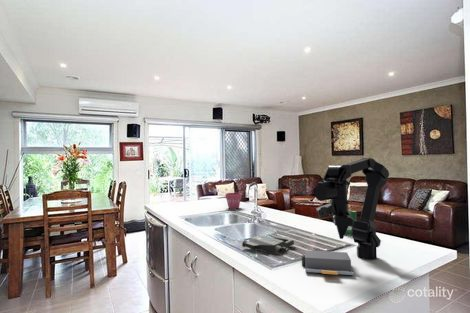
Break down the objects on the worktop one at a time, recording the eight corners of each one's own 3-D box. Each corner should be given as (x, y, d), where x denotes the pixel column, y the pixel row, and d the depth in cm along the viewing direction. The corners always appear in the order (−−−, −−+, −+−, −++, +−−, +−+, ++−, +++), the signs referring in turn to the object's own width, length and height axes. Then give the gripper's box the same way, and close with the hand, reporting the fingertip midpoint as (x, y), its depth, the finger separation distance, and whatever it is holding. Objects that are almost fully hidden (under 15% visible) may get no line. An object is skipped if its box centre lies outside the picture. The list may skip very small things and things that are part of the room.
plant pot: (245, 208, 230) (244, 193, 231) (231, 210, 223) (230, 195, 223) (236, 206, 243) (235, 192, 243) (222, 208, 235) (222, 193, 235)
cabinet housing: (347, 265, 104) (347, 252, 104) (351, 274, 96) (350, 260, 96) (301, 262, 108) (301, 250, 108) (302, 270, 100) (301, 257, 100)
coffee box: (357, 234, 144) (356, 210, 144) (357, 236, 141) (356, 211, 141) (341, 233, 148) (340, 209, 148) (340, 234, 145) (340, 210, 145)
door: (351, 271, 96) (355, 272, 89) (351, 274, 95) (355, 276, 88) (305, 268, 99) (305, 269, 92) (305, 270, 99) (305, 272, 92)
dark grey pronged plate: (282, 258, 114) (282, 245, 114) (241, 250, 125) (240, 239, 125) (295, 247, 128) (294, 236, 128) (256, 241, 138) (256, 231, 139)
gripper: (315, 194, 112) (317, 231, 112) (319, 202, 94) (321, 246, 94) (343, 193, 110) (345, 231, 110) (353, 201, 92) (355, 247, 92)
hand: (341, 238), depth 101 cm, fingers closed
